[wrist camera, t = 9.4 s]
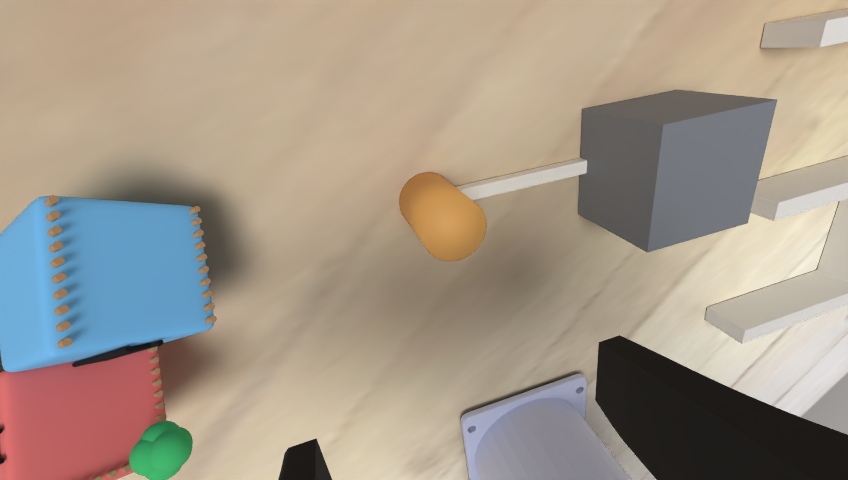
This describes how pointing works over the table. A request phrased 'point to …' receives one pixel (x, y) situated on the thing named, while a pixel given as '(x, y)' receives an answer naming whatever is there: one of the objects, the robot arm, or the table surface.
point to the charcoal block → (625, 174)
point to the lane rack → (792, 194)
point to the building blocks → (95, 336)
